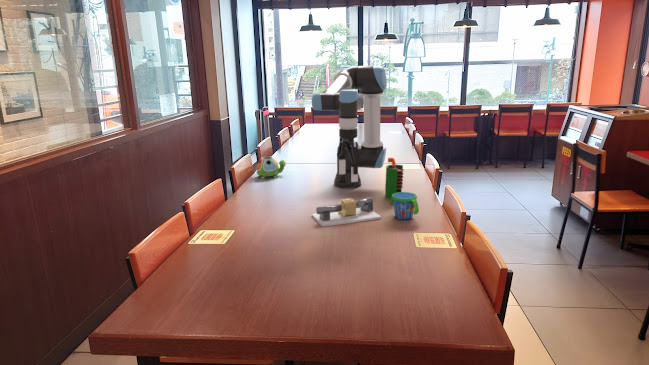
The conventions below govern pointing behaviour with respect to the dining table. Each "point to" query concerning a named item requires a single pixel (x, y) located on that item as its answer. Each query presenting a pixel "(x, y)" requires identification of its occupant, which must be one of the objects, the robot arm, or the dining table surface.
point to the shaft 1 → (328, 211)
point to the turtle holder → (269, 167)
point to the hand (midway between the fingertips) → (348, 177)
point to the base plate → (346, 218)
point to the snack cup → (404, 204)
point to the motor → (393, 178)
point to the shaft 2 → (365, 204)
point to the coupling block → (348, 207)
